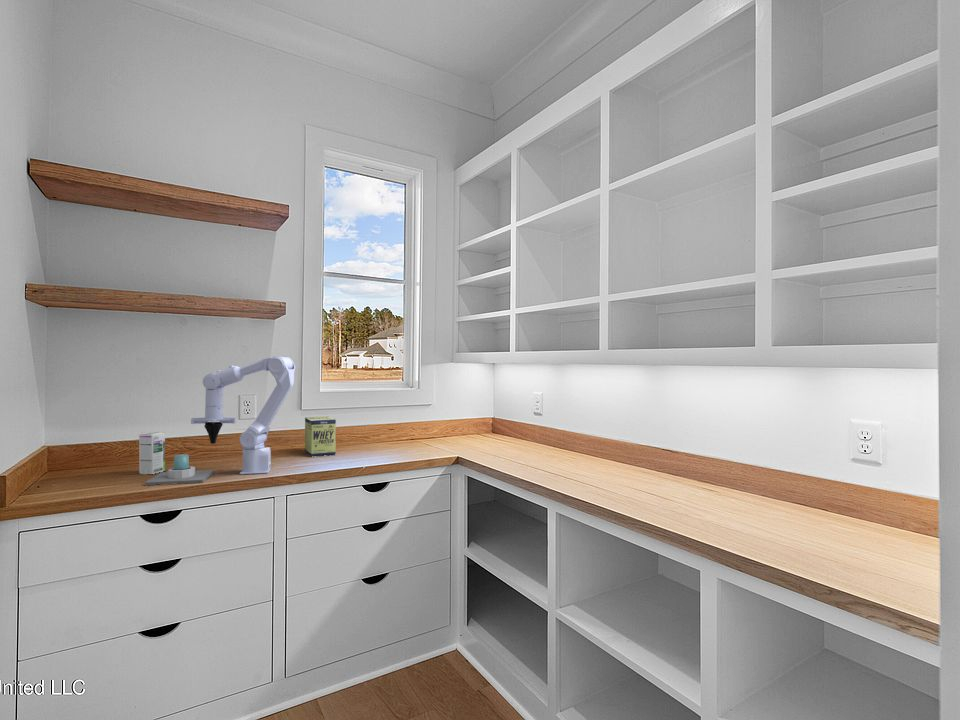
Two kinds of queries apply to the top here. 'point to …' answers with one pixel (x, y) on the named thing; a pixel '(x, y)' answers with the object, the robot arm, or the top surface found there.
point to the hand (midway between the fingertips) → (213, 443)
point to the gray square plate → (180, 476)
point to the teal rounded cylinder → (181, 462)
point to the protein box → (320, 436)
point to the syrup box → (151, 453)
